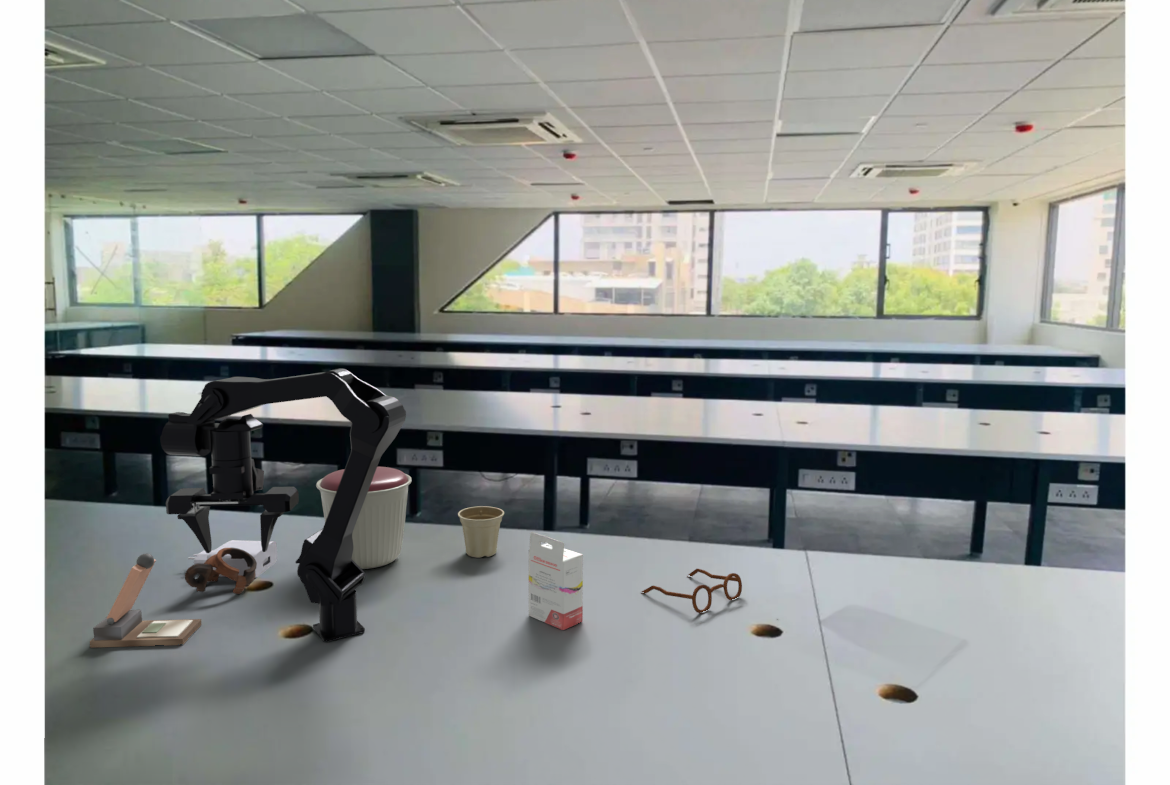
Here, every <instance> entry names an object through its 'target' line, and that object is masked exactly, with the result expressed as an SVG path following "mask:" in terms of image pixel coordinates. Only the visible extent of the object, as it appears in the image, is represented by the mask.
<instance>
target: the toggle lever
mask: <svg viewBox="0 0 1170 785" xmlns="http://www.w3.org/2000/svg"><path fill="white" fill-rule="evenodd" d="M156 562H157V559H155V558H154V556H153V555H152V554H150V553H143V554H141V555H139V556H138V557H137V559H136V563H135V565H134V566H132V567H131V568H130V571H129V573H128V575H127V577H126V579H125V581H124V582H123V584H122V587H121V589H120V591H119V592H118V595H117V596H116V599H115V601H114V603H113V605H112V606H111V608H110V610H109V613H108V614H107V616H106V617H107V623H108V624H113V623H114V622H116V621H117V620H119V619H120V618H121V617H122V616H123V615H125V614H126V613H127V612H128V611H129V610H133V606H134V605H135V603H136V601H137V598H138V597H139V596H140V593H141V591H142V589H143V586H144V585H145V583H146V581H147V578H148V577H149V575H150V573H151V571H152V569H153V567H154V566H155V563H156Z"/></svg>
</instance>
